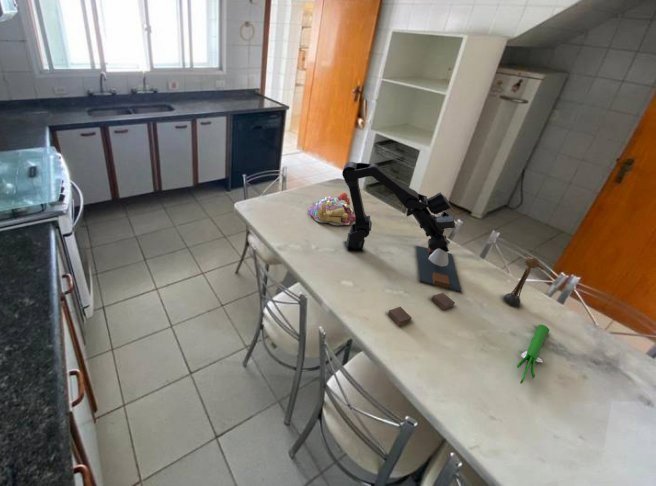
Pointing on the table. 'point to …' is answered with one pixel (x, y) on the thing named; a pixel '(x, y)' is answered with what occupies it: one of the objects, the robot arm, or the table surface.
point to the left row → (402, 317)
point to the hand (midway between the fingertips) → (447, 249)
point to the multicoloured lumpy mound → (333, 210)
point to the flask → (439, 257)
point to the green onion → (534, 350)
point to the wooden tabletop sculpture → (522, 282)
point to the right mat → (437, 271)
